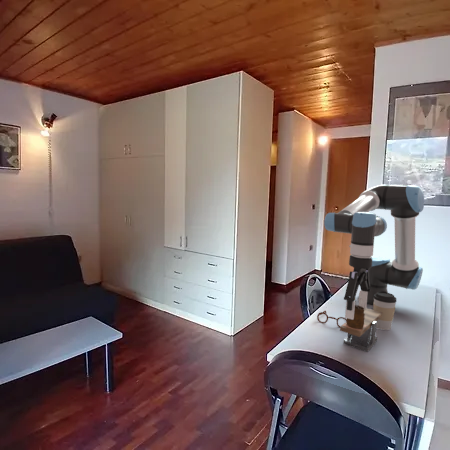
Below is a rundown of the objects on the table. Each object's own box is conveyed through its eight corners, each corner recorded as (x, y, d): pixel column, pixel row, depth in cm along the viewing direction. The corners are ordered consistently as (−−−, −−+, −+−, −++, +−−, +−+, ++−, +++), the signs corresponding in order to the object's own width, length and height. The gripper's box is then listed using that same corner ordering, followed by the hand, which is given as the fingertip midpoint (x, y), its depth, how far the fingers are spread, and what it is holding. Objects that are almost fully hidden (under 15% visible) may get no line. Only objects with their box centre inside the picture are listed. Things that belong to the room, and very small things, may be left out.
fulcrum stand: (353, 333, 135) (355, 311, 134) (377, 341, 129) (380, 318, 128) (342, 343, 126) (344, 319, 125) (368, 352, 120) (370, 327, 119)
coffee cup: (396, 332, 138) (400, 298, 136) (373, 329, 139) (376, 295, 138) (390, 323, 146) (393, 291, 145) (368, 321, 148) (371, 289, 146)
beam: (364, 311, 139) (365, 307, 139) (382, 315, 135) (382, 312, 135) (339, 330, 118) (340, 326, 118) (359, 336, 114) (360, 332, 113)
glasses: (316, 322, 146) (317, 311, 145) (325, 313, 157) (326, 303, 156) (347, 330, 139) (347, 319, 138) (354, 320, 149) (355, 310, 149)
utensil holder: (352, 329, 116) (355, 296, 114) (342, 322, 122) (345, 291, 120) (367, 328, 117) (370, 296, 116) (356, 321, 123) (359, 290, 122)
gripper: (361, 249, 128) (357, 301, 131) (337, 259, 109) (332, 320, 112) (382, 252, 123) (377, 306, 126) (360, 263, 104) (354, 326, 107)
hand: (356, 312), depth 119 cm, fingers open, 13 cm apart
